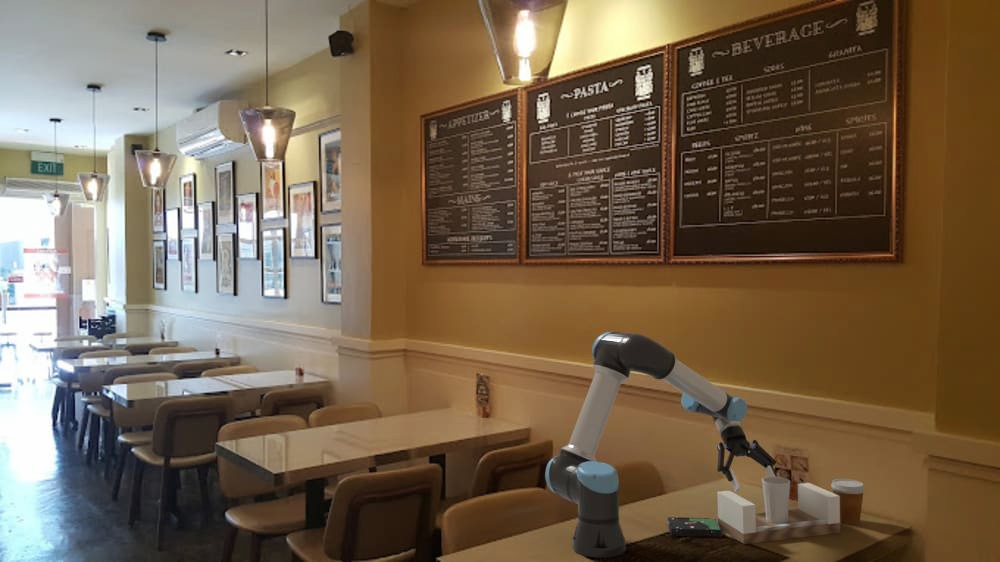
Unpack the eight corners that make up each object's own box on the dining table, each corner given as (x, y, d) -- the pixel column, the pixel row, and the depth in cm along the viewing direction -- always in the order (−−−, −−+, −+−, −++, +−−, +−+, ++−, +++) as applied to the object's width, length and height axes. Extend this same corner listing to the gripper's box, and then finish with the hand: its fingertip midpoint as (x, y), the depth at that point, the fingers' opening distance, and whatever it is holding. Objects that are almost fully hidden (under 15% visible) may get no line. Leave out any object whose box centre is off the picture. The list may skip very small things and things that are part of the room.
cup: (758, 520, 212) (757, 480, 212) (770, 513, 217) (768, 475, 217) (784, 526, 206) (783, 485, 206) (795, 519, 211) (794, 479, 211)
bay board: (743, 544, 201) (743, 531, 201) (718, 527, 215) (717, 515, 215) (840, 532, 208) (840, 520, 208) (809, 517, 222) (809, 505, 222)
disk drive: (671, 538, 209) (722, 538, 207) (670, 528, 209) (722, 529, 207) (667, 525, 219) (716, 526, 217) (667, 516, 219) (715, 517, 217)
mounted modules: (743, 533, 201) (742, 506, 201) (717, 517, 215) (717, 491, 215) (840, 522, 208) (839, 495, 208) (809, 507, 222) (808, 482, 222)
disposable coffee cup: (845, 528, 212) (844, 488, 212) (824, 517, 221) (824, 479, 221) (872, 525, 214) (872, 485, 214) (851, 514, 223) (850, 477, 223)
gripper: (759, 434, 242) (787, 490, 227) (693, 439, 236) (717, 497, 222) (768, 421, 236) (797, 478, 222) (700, 426, 231) (725, 485, 216)
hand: (757, 488), depth 222 cm, fingers open, 13 cm apart
